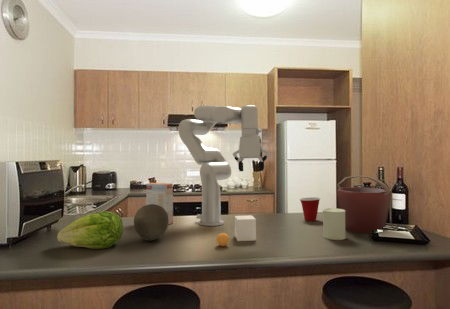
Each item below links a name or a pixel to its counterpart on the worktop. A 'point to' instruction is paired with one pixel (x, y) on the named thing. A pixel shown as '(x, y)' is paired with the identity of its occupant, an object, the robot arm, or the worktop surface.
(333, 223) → the can
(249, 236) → the white sugar cube
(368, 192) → the bucket
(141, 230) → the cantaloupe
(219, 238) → the ball
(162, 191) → the cracker box
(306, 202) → the plastic cup
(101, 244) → the lettuce
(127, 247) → the worktop surface
